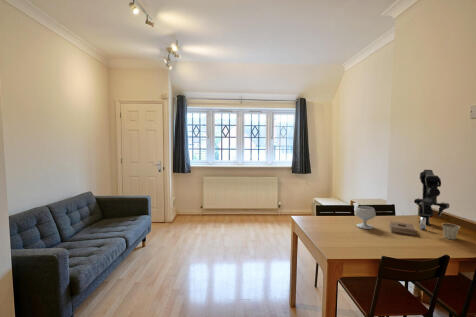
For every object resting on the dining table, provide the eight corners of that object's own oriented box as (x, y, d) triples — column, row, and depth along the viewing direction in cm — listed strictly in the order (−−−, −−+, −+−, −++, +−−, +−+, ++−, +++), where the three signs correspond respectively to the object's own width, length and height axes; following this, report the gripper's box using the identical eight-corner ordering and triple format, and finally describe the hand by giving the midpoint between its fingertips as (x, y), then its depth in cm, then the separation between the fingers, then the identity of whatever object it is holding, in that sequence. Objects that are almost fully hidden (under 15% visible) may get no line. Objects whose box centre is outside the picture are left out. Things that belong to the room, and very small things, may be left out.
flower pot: (454, 235, 167) (454, 223, 166) (462, 241, 157) (463, 228, 157) (438, 234, 169) (438, 222, 168) (445, 239, 160) (446, 227, 159)
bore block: (389, 226, 186) (389, 221, 186) (411, 229, 180) (412, 224, 179) (391, 232, 174) (391, 227, 174) (415, 235, 167) (415, 230, 167)
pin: (419, 228, 181) (420, 216, 181) (424, 229, 180) (425, 217, 179) (420, 229, 178) (421, 217, 178) (425, 230, 177) (426, 218, 176)
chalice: (370, 223, 192) (370, 205, 191) (378, 230, 178) (379, 210, 177) (352, 223, 194) (352, 205, 193) (359, 229, 180) (359, 210, 179)
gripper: (411, 192, 172) (410, 214, 174) (444, 197, 157) (443, 221, 158) (417, 190, 178) (417, 211, 180) (450, 195, 163) (449, 217, 164)
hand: (430, 215), depth 170 cm, fingers open, 9 cm apart
